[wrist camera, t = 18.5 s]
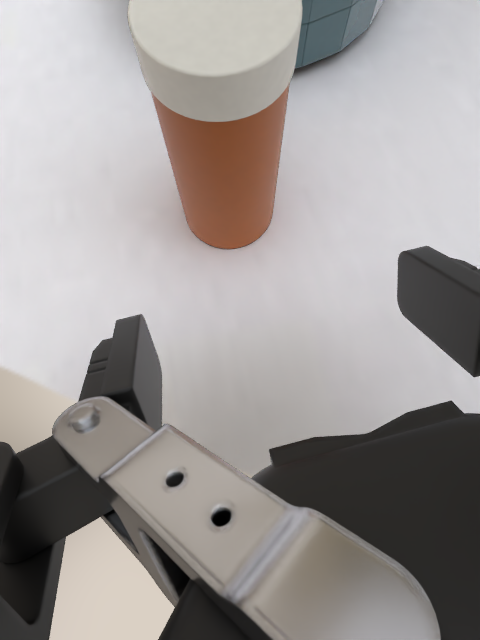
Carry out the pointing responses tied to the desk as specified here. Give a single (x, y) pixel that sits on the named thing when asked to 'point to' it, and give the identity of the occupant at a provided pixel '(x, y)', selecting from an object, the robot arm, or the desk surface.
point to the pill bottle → (220, 104)
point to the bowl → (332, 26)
